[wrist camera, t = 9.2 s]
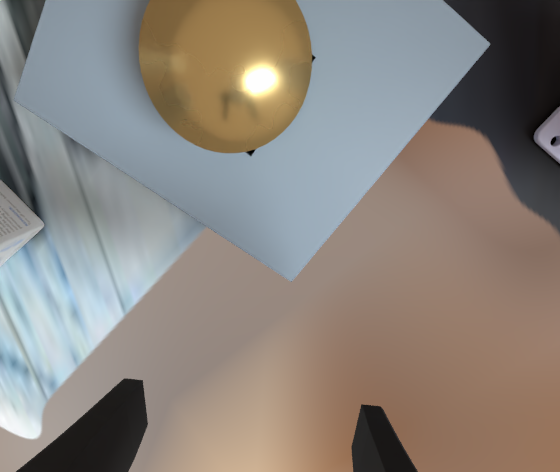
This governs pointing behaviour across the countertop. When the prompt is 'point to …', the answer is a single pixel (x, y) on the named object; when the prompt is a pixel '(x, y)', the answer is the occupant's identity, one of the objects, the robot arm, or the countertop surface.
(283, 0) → the brass door knob
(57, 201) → the countertop surface
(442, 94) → the block
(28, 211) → the light bulb box
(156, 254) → the countertop surface
